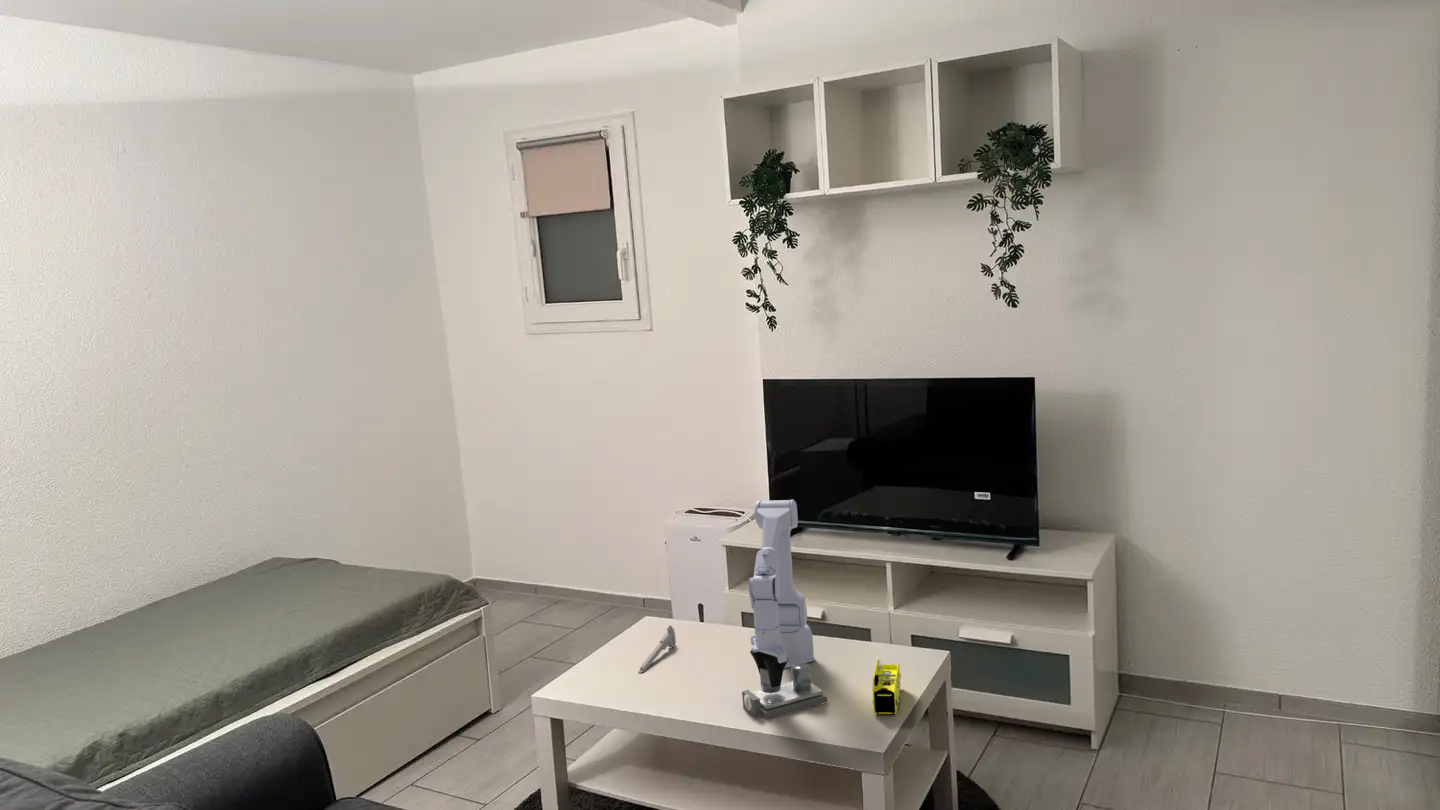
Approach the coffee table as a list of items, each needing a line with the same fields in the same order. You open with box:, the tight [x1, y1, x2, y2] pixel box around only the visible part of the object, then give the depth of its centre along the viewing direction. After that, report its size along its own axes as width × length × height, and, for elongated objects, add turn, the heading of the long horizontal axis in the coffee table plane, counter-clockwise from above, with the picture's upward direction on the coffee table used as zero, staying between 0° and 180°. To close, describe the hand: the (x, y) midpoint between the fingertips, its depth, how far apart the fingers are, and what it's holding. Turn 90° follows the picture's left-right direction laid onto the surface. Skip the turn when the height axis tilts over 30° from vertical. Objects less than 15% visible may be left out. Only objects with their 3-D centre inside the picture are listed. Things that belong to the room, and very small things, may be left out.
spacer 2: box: [790, 663, 812, 691], centre depth 244 cm, size 4×4×5 cm
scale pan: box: [751, 680, 824, 710], centre depth 243 cm, size 15×9×1 cm, turn 115°
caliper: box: [637, 625, 677, 674], centre depth 276 cm, size 20×1×6 cm, turn 157°
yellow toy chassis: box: [872, 657, 902, 716], centre depth 239 cm, size 16×6×8 cm, turn 167°
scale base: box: [741, 689, 828, 720], centre depth 242 cm, size 18×11×4 cm, turn 115°
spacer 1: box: [759, 665, 781, 693], centre depth 241 cm, size 4×4×5 cm
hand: (770, 682), depth 241 cm, fingers closed on spacer 1, 4 cm apart
